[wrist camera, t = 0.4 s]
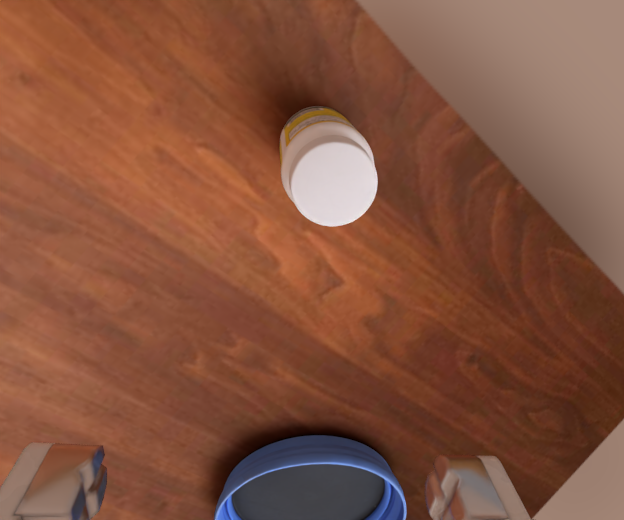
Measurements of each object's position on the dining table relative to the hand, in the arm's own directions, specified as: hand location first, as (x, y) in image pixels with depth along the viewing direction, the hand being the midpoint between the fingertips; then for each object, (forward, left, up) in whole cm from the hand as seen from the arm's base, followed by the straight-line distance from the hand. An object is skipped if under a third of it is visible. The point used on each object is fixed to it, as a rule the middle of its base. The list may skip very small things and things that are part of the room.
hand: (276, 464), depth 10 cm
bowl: (+30, +6, -20) cm, 37 cm away
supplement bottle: (-4, +2, -20) cm, 20 cm away
